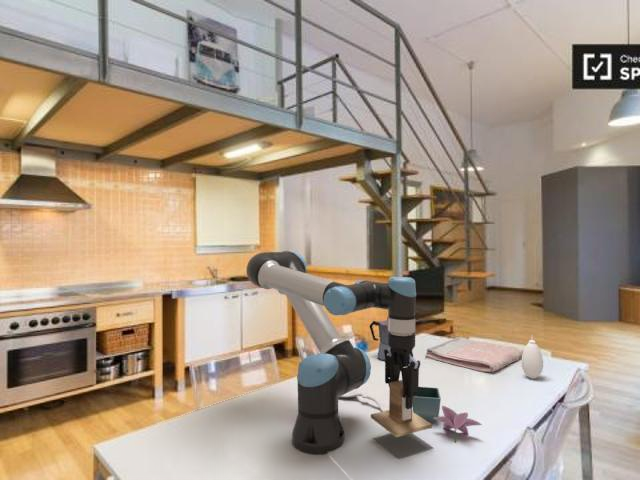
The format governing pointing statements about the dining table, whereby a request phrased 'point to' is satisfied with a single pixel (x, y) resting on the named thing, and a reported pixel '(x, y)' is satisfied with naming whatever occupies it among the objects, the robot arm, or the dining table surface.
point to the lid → (399, 415)
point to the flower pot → (427, 403)
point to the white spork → (355, 393)
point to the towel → (474, 354)
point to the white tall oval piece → (532, 360)
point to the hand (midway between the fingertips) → (400, 414)
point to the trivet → (403, 445)
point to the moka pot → (381, 337)
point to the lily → (456, 420)
